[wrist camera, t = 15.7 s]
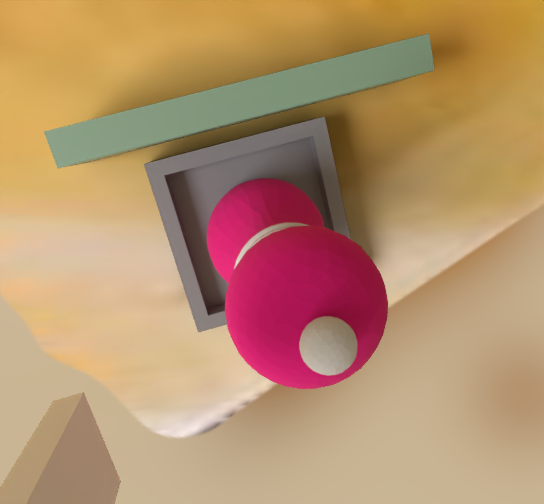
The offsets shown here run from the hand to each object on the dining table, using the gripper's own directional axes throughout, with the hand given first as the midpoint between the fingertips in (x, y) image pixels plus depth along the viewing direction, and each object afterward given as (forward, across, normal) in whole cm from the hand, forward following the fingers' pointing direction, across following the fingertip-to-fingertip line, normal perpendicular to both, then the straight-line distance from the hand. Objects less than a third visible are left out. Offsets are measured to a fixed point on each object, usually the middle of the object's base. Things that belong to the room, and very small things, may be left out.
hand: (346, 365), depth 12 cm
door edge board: (+22, 0, -8) cm, 24 cm away
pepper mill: (+21, 0, 0) cm, 21 cm away
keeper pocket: (+22, +1, 0) cm, 22 cm away
